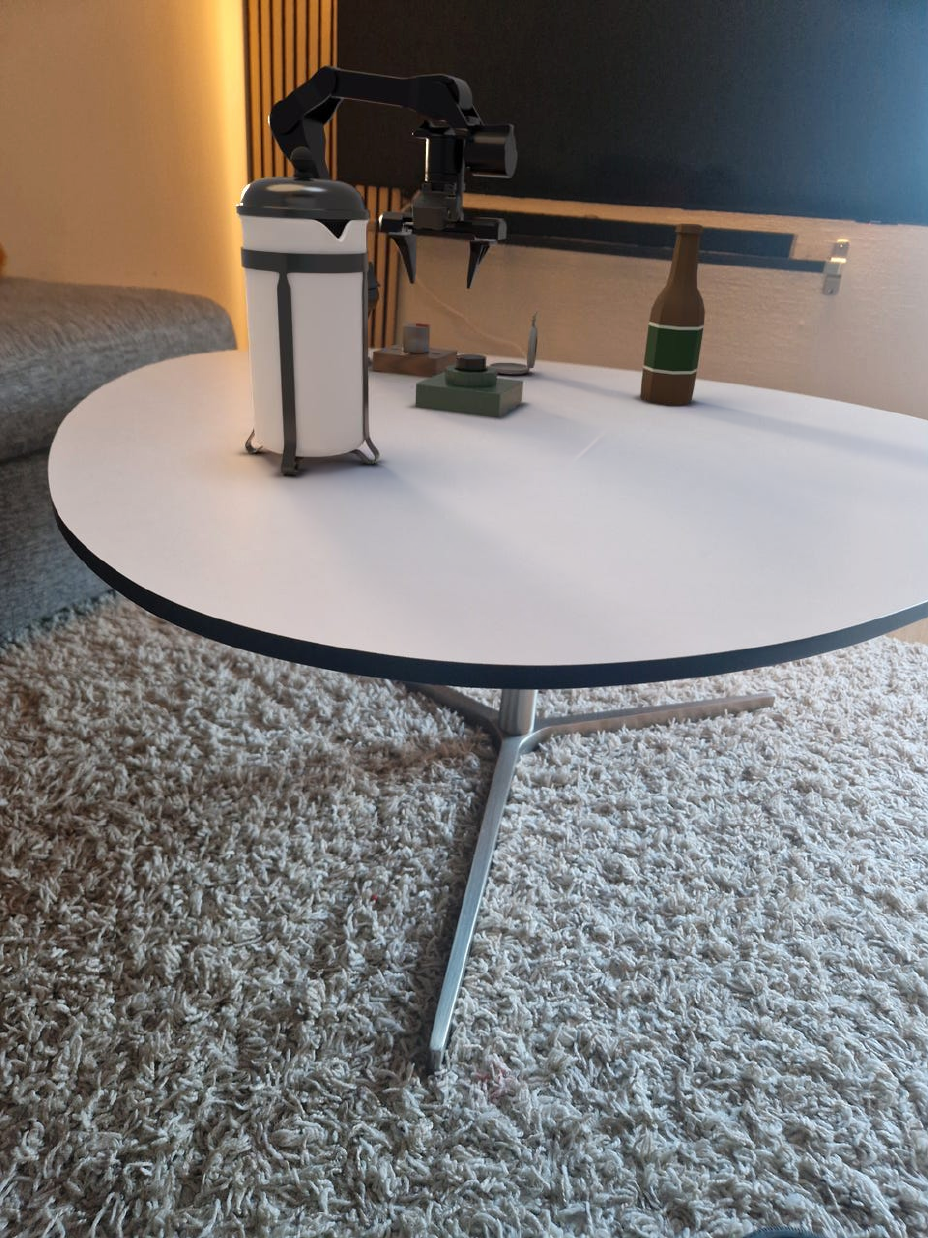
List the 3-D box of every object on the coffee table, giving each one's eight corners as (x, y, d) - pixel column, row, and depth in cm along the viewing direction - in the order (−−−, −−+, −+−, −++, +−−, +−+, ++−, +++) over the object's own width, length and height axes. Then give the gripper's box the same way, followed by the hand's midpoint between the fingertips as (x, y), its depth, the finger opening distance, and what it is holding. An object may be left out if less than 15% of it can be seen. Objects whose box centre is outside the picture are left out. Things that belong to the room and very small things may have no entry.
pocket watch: (482, 369, 149) (485, 306, 145) (526, 367, 153) (530, 305, 148) (504, 378, 143) (508, 313, 138) (550, 376, 146) (555, 312, 142)
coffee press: (402, 446, 103) (405, 153, 90) (350, 484, 89) (345, 144, 76) (265, 430, 107) (250, 147, 94) (194, 464, 93) (164, 138, 80)
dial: (397, 351, 144) (398, 323, 142) (409, 347, 147) (409, 320, 146) (422, 354, 142) (423, 325, 141) (433, 350, 146) (434, 322, 144)
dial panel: (373, 370, 144) (372, 350, 143) (396, 362, 152) (396, 343, 150) (436, 378, 141) (436, 357, 139) (456, 369, 148) (457, 349, 147)
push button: (452, 372, 121) (452, 356, 120) (462, 367, 124) (463, 352, 124) (479, 375, 120) (480, 359, 119) (489, 370, 123) (490, 355, 122)
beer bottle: (688, 396, 136) (714, 224, 126) (695, 407, 129) (723, 226, 119) (637, 393, 137) (658, 221, 126) (641, 404, 130) (664, 223, 119)
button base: (415, 407, 122) (416, 369, 120) (443, 394, 130) (444, 358, 128) (498, 418, 118) (500, 379, 116) (521, 403, 126) (524, 367, 124)
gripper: (365, 169, 128) (365, 285, 134) (491, 176, 123) (484, 295, 130) (392, 171, 137) (391, 279, 144) (510, 178, 133) (503, 289, 140)
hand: (440, 285), depth 139 cm, fingers open, 9 cm apart
